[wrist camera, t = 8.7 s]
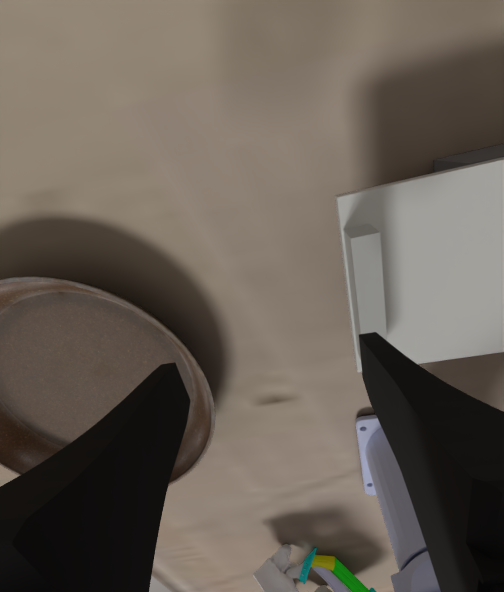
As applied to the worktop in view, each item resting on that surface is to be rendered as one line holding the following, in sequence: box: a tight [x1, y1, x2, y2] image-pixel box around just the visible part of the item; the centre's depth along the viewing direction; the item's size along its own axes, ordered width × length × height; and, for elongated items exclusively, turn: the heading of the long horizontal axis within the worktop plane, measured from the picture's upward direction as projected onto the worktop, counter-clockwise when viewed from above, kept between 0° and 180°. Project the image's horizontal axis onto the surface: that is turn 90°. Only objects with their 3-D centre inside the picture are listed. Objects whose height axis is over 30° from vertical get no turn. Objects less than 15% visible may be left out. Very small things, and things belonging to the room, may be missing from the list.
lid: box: [335, 157, 504, 372], centre depth 15 cm, size 10×10×2 cm
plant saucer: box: [0, 277, 215, 486], centre depth 24 cm, size 21×21×3 cm
